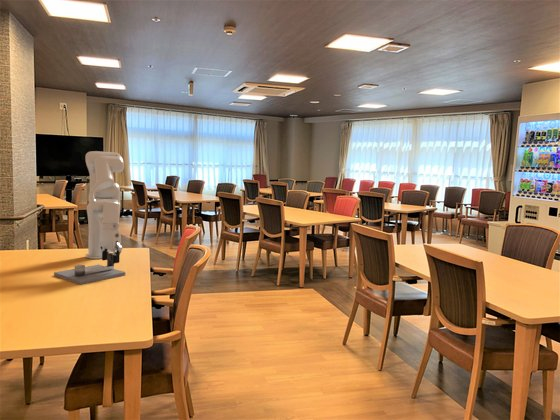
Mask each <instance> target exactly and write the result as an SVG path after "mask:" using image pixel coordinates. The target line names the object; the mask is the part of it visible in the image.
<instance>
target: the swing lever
mask: <svg viewBox="0 0 560 420" xmlns="http://www.w3.org/2000/svg"><path fill="white" fill-rule="evenodd" d="M113 255H114V253H113V252H109V253H108V254H107V260H106V265H102V267H97V268H91V269H86V270H85V267H86V265H84V264H77V265H74V269H75V271H74V275H76V276H81V275H85V274H89V273H94V272H99V271H105V270H110V269H115V263H113Z"/></svg>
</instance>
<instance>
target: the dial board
mask: <svg viewBox="0 0 560 420" xmlns="http://www.w3.org/2000/svg"><path fill="white" fill-rule="evenodd" d="M102 266H103V264H95V265H89V266H85V270H86V269H91V268H97V267H102ZM74 271H75V268H72V269H66V270H65V269H64V270H61V271H54V272H53V275H54V277H58V278H61V279H63V280H66V281H69V282H72V283H74V284H77V285H85V284H91V283H95V282H101V281H104V280H108V279H115V278H119V277H123V276H124V277H125V276H126V271H122V270H119V269H116V268H114V269H110V270H105V271H99V272H94V273H89V274H85V275H81V276H76V275H74Z"/></svg>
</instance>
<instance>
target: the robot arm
mask: <svg viewBox="0 0 560 420" xmlns="http://www.w3.org/2000/svg"><path fill="white" fill-rule="evenodd" d="M124 161H125V160H124V158H123V157H122V155H121V154H120V153H119V152H116V151H115V152H113V151H98V150H95V151H94V150H93V151H88V152H87V153H86V154H85V163H86V164H85V165H86V167H87V170H88V173H89V193H88V204H87V206H86V214H87V220H88V221H87V222H88V226H87V227H88V245H87V246H88V253H86V254H85V258H86V259H90V260H91V259H92V260H99V259H100V260H101V261H107V254H108V253H114V255H113V263H114V264H119V263H120V255H121V253H122V250H123V246H122V235H121V230H120V215H121V214H120V213H121V187H120V185H119V183H117V182H115V178H114V177H115V176H114V173H122V172H123V171H124V169H125V162H124Z"/></svg>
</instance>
